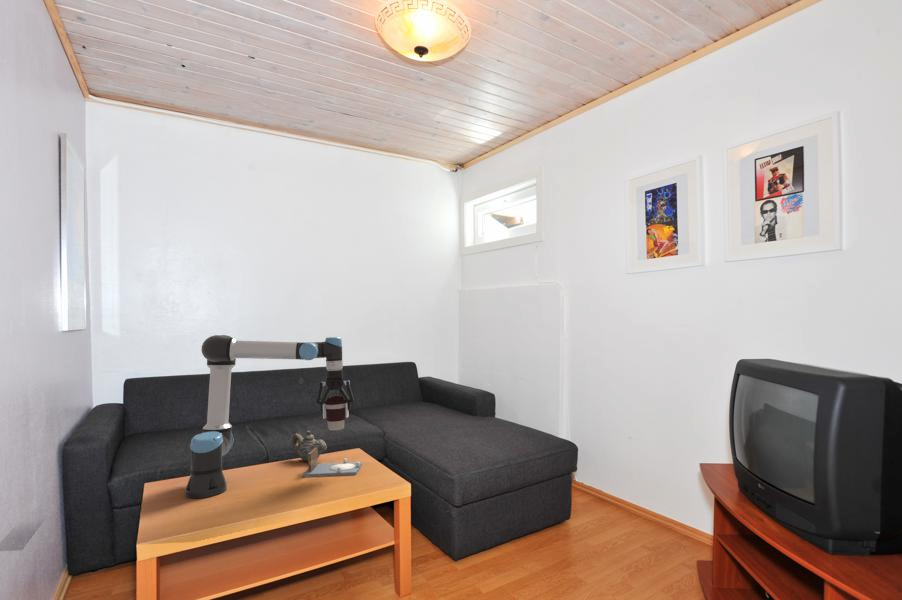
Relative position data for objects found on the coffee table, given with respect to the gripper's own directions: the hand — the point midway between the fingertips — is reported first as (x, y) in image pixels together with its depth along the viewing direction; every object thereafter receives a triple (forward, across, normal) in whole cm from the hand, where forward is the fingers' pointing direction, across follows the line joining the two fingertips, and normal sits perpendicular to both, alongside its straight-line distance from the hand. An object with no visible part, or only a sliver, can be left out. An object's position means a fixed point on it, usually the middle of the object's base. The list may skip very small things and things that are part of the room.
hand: (336, 417), depth 216 cm
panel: (+23, -13, +2) cm, 26 cm away
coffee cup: (+5, 0, 0) cm, 5 cm away
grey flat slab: (+25, -2, +2) cm, 25 cm away
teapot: (+25, -20, +22) cm, 38 cm away
